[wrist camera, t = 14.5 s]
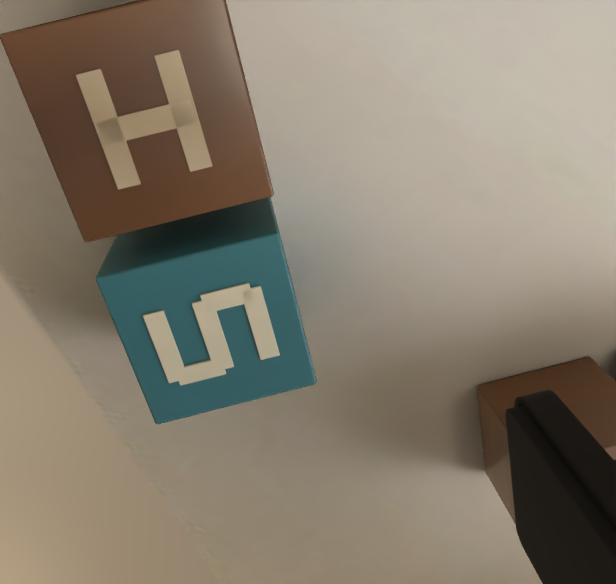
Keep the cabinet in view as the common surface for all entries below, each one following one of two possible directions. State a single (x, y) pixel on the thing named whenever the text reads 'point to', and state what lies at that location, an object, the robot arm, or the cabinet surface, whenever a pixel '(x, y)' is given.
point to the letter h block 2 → (142, 112)
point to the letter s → (207, 311)
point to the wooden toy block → (574, 394)
